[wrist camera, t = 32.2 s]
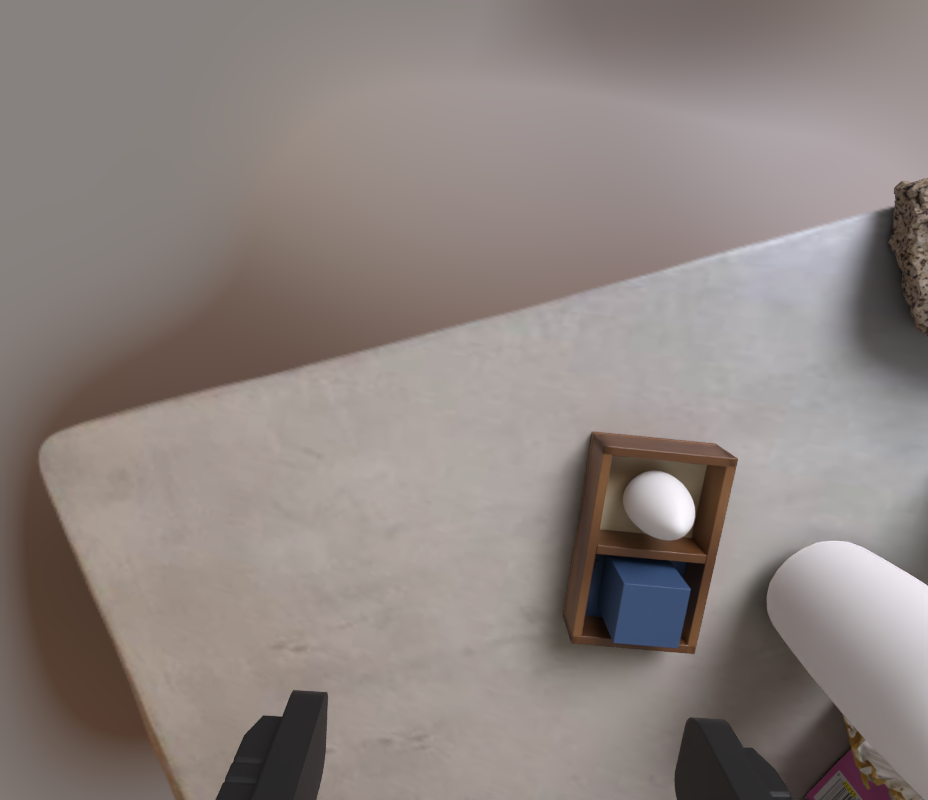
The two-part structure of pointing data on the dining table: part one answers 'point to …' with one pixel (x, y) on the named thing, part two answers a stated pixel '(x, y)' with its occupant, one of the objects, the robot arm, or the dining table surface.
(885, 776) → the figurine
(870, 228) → the dining table surface
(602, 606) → the block
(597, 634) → the sorter
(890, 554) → the dining table surface
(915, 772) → the cup
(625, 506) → the egg
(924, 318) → the stone
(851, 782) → the box
